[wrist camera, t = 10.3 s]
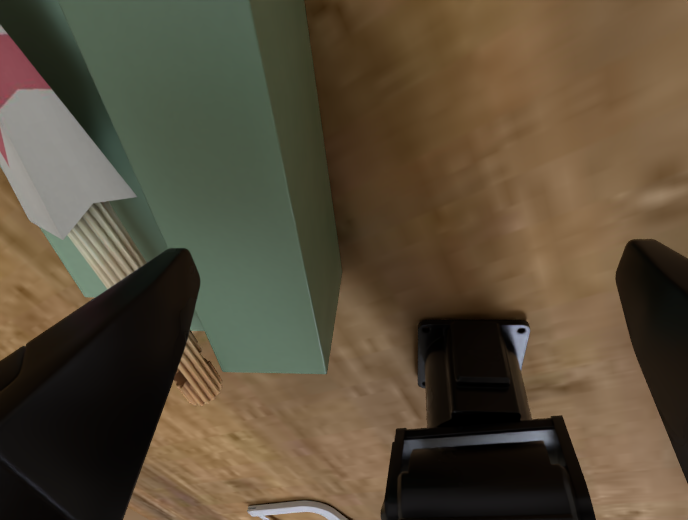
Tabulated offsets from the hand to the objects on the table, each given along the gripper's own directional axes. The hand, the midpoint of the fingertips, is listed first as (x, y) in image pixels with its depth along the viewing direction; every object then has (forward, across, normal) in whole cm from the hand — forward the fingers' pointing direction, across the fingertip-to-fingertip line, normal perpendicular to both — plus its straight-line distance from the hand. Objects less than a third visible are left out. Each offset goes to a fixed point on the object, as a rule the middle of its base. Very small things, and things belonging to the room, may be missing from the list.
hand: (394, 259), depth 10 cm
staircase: (+12, +11, +2) cm, 16 cm away
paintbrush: (+6, +10, +2) cm, 12 cm away
